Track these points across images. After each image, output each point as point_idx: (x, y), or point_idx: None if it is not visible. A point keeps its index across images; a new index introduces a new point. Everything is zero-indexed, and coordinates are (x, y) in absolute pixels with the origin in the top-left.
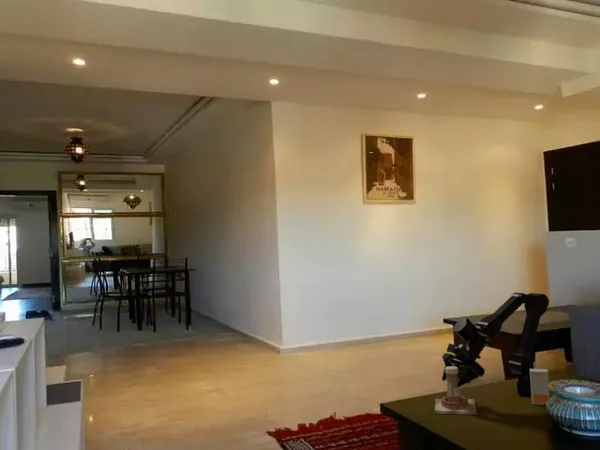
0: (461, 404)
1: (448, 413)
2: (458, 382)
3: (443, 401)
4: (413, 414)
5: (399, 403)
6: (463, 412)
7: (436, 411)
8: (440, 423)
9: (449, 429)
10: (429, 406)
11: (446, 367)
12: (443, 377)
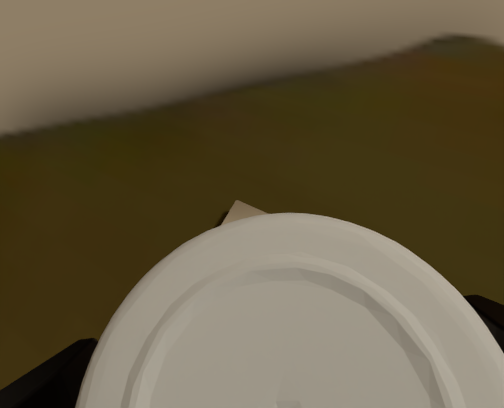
0: None
1: None
2: (55, 362)
3: None
4: (276, 111)
5: (496, 98)
6: None
7: (233, 209)
8: (101, 176)
9: (21, 181)
10: (385, 231)
11: (367, 256)
12: (480, 317)
